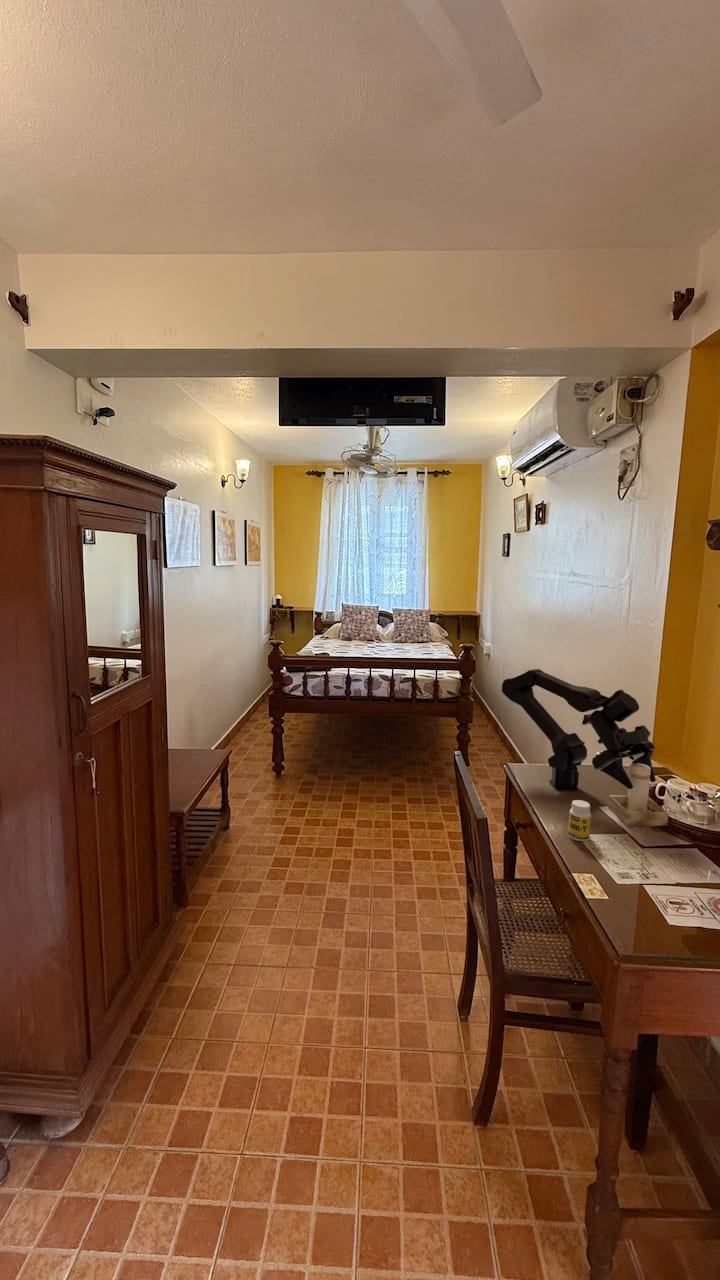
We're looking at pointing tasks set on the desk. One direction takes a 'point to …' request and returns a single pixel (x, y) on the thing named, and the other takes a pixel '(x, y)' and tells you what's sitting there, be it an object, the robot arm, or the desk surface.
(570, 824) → the supplement bottle
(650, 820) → the tray
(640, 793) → the vase
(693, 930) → the desk surface
